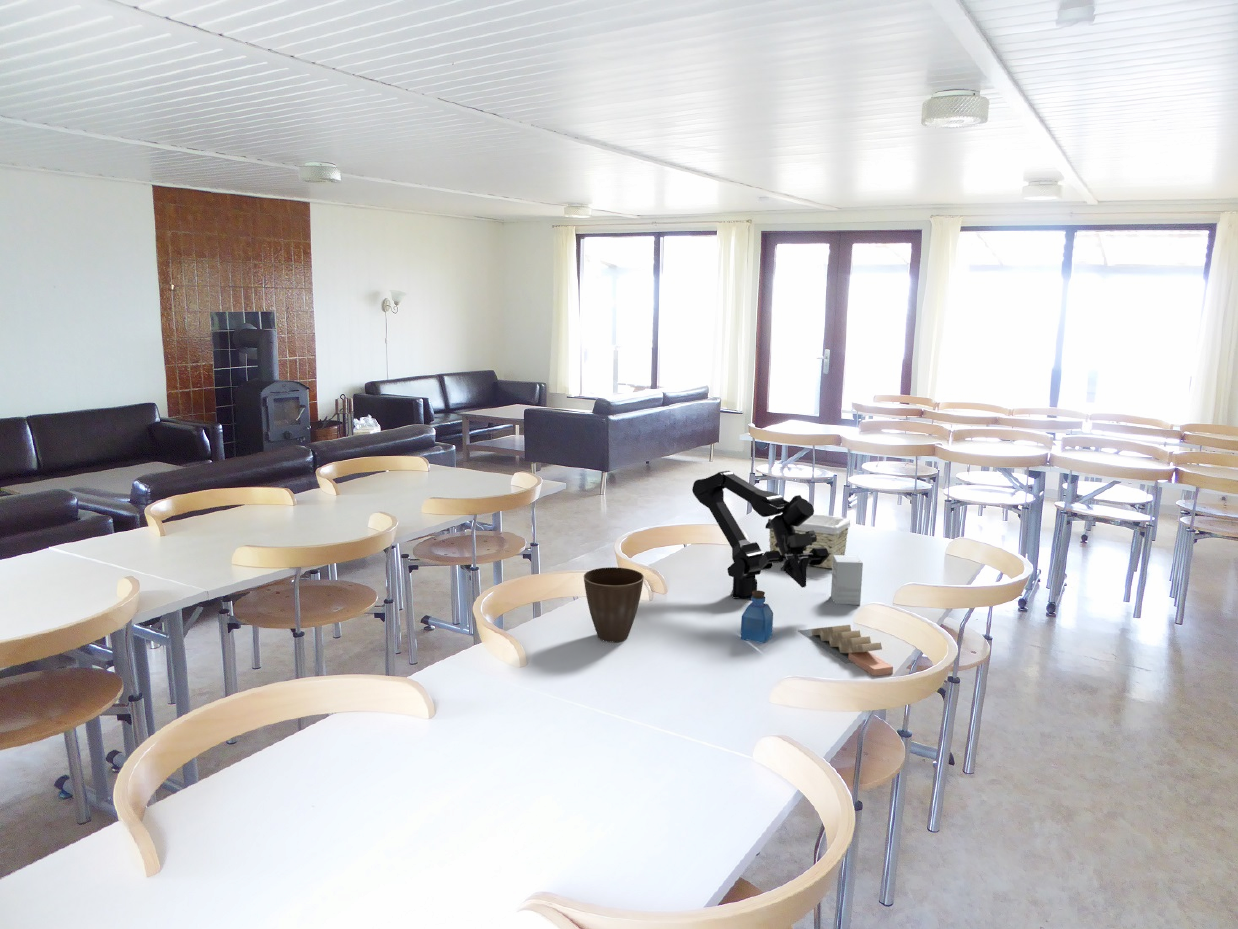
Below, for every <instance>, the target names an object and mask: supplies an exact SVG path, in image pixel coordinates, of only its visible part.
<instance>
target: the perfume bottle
mask: <svg viewBox="0 0 1238 929" xmlns="http://www.w3.org/2000/svg"><path fill="white" fill-rule="evenodd" d="M752 594H753V596H751V599H750V600H751V602H750V604H748V605H747V607H746V608H745V610H744V611H743V613H742V615H741V620H740V621H741V624H740V640H742V641H746V642H748V641H752V642H757V643H762V644H765V643H766V642H767V641H768V640H769V639H770V638H771V637H772V636H773V625H774V623H773V621H774V612H773V610H772V608H771V607H770V605H769V604H768V603H765V602H766V596H765V594H766V592H765V591H763V590H758V589H757V590H755V591H752Z"/></svg>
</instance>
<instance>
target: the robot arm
mask: <svg viewBox="0 0 1238 929" xmlns="http://www.w3.org/2000/svg"><path fill="white" fill-rule="evenodd" d="M691 489H692V493H693V496H694V497H695V498H696V500H697V501H698V502H699V503H701V504H702V505H703V506H704V507H706V508H708V510H709V511H710V512H711V514H712V517H713V518H714V520H715V521H716V523H717V524H718V527H719V528H720V530H721V532H722V534H723V535H724V536H725V538H726V541H727V542H728V544H729V545H730V547H731V550H732V552H731V553H732V555H731V558H732V562H733V563H731V564H730V565H729V567H728V568H727V573H728V576H729V577H732V590H731V595H732V597H731V598H733V599H743V600H751V596H753V594H752V591H755V590H758V580H757V579H756V575H760V574H761V572H762V571H766V570H771V569H772V567H773V564H779V563H780V564H781V567H780V568H779V570H780V571H781V572H783V573H785V574H786V575H788V576H789V577H791V579H793V580H794V582H796V584H798V586H800V587H801V588H806V587H807V569H808V564H809V565H810V567H816V566H815V565H821V564H822V563H823V562H824V561H825V560H826V559H827V558H828V556H829V552H828V550H827V548H825V547H818V548H813V549H812V550H811V551H810V552H809V553H803V551H805V550H806V549H807V547H806V546H809V545H810V546H811V545H812V543H814V542H816V541H817V537H816V534H815V532H814V530H812V531H807V532H806V533H805V534H799V533H796V531H795V529H794V526H796V527H798V526H800V525H801V524H802V523H804V522H805V521H806V520H807V519H808V518H810V517H811V516H812V515H813V514H815V509H814V506H813V505H812V503H810V502H809V501H808V500H807V499H805V498H803V497H802V496H801V494H799V495H798V494H797V495H794V496H793V497H792V498H791V500H789V501H788V500H787V499H784V497H783V496H782V495H780V494H779V493H775V492H773V491H767V490H764V489H763V490H762V489H760V488H759V487H757V486H755V485H753V484H751V483H750V482H748V481H746V480H745V479H743V478H741V477H740V476H738V475H736V474H735V473H734V472H733V471H732V470H731V471H730V470H725V471H718V472H717V473H715V474H713V475H711V476H708V477H705V478H700V479H696V480H695V481H694V482H693V484H692V488H691ZM724 489H727V490H728V491H730V492H731V493H733V494H735V495H737V497H740V498H741V499H743V500H745V501H746V502H748V504H750V505H751V508H752V509H753V510H754V511H755V512H756V513H757V514H758V515H759V516H761V517H763V518H768V520H767V522H766V524H765V529H767V530H770V529H772V530H773V533H774V535H775V538H776V541H777V542H776V544H775V546H776V547H779V550H780V552H781V554H780V552H779V551H770V550H767V551H765V552H764V551H763V550H762V549H761V547H760V544H759V543H757V541H754V542H750V541H749V540H748V539H747V538H746V536H745V534H744V532H743V531H742V529H741V527H740V525H739V524H738V522H737V521H736V519H735V517H734V516H733V514H732V513H731V511H730V509H729V507H728V505H727V503H726V501H725V499H724V495H725V493H724ZM781 513H782V514H781ZM778 514H781V515H778ZM773 515H777V516H775V517H774V518H773V519H769V517H771V516H773Z"/></svg>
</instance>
